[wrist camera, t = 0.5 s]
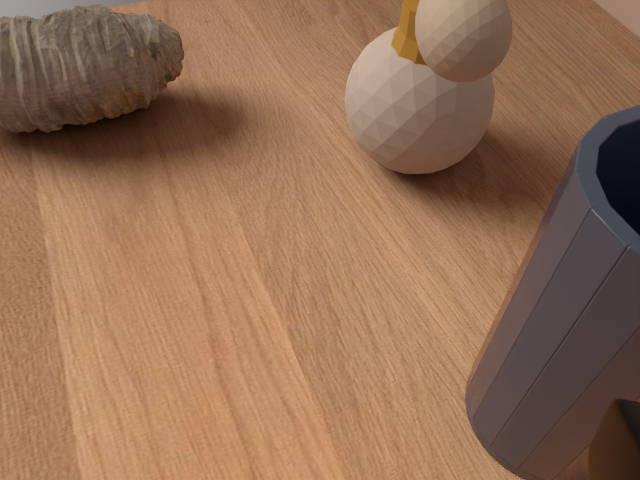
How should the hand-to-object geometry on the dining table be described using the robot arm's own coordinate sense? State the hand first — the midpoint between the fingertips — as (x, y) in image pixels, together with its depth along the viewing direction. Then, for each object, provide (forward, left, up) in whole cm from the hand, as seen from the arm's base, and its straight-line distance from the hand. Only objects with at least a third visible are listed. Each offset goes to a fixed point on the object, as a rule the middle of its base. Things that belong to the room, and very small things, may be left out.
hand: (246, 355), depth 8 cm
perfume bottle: (+20, -7, -16) cm, 26 cm away
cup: (+6, -10, -16) cm, 20 cm away
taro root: (+24, +13, -16) cm, 31 cm away
